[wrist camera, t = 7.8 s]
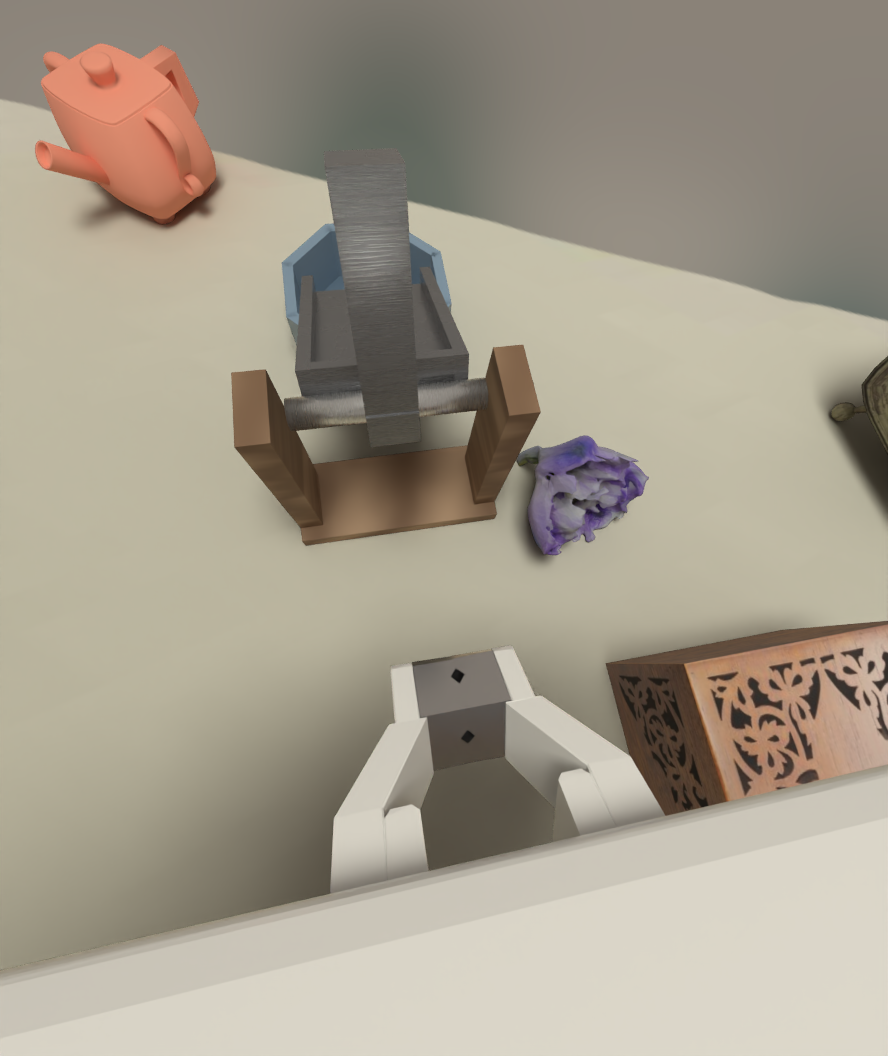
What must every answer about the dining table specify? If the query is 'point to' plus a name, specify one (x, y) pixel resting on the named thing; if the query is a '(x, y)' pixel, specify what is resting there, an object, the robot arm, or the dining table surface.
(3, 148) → the dining table surface
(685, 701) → the tissue box cover
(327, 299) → the lever
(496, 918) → the robot arm
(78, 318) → the dining table surface
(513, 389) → the stand
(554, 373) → the dining table surface
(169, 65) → the teapot
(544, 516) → the flower
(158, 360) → the dining table surface
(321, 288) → the blue octagonal bowl
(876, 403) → the tabletop clock
